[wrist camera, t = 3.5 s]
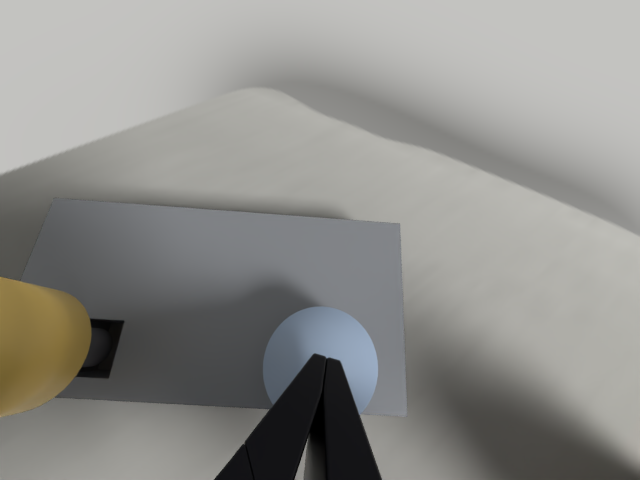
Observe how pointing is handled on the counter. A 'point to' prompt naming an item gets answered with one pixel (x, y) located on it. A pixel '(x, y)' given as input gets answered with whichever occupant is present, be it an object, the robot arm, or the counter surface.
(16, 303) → the amber button
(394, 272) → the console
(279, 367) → the blue button
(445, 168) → the counter surface
